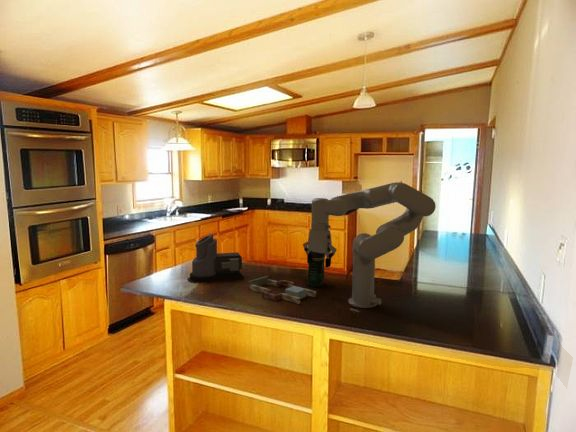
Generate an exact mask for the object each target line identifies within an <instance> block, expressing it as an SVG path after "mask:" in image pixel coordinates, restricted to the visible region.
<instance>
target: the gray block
mask: <svg viewBox="0 0 576 432" xmlns="http://www.w3.org/2000/svg"><path fill="white" fill-rule="evenodd" d="M304 288H305V287H301V286H296V285H295V286H293V287H290V288H287V287H286V288H285V289H284V293H285V294H288V295H292V296H295V297H299V298H300V300H301V299H304V298H306V297H307V295H306V289H307V288H305V289H304Z"/></svg>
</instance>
